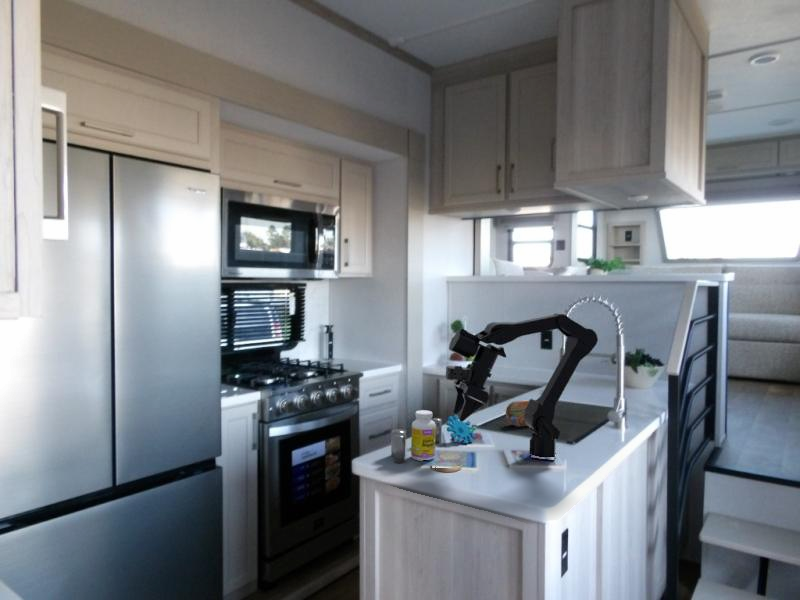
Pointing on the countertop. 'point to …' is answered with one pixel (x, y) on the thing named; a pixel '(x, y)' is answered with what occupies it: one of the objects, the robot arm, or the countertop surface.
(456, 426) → the gear
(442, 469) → the cork coaster
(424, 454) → the supplement bottle
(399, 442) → the spacers
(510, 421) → the orange snack packet
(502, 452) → the countertop surface
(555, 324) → the robot arm
